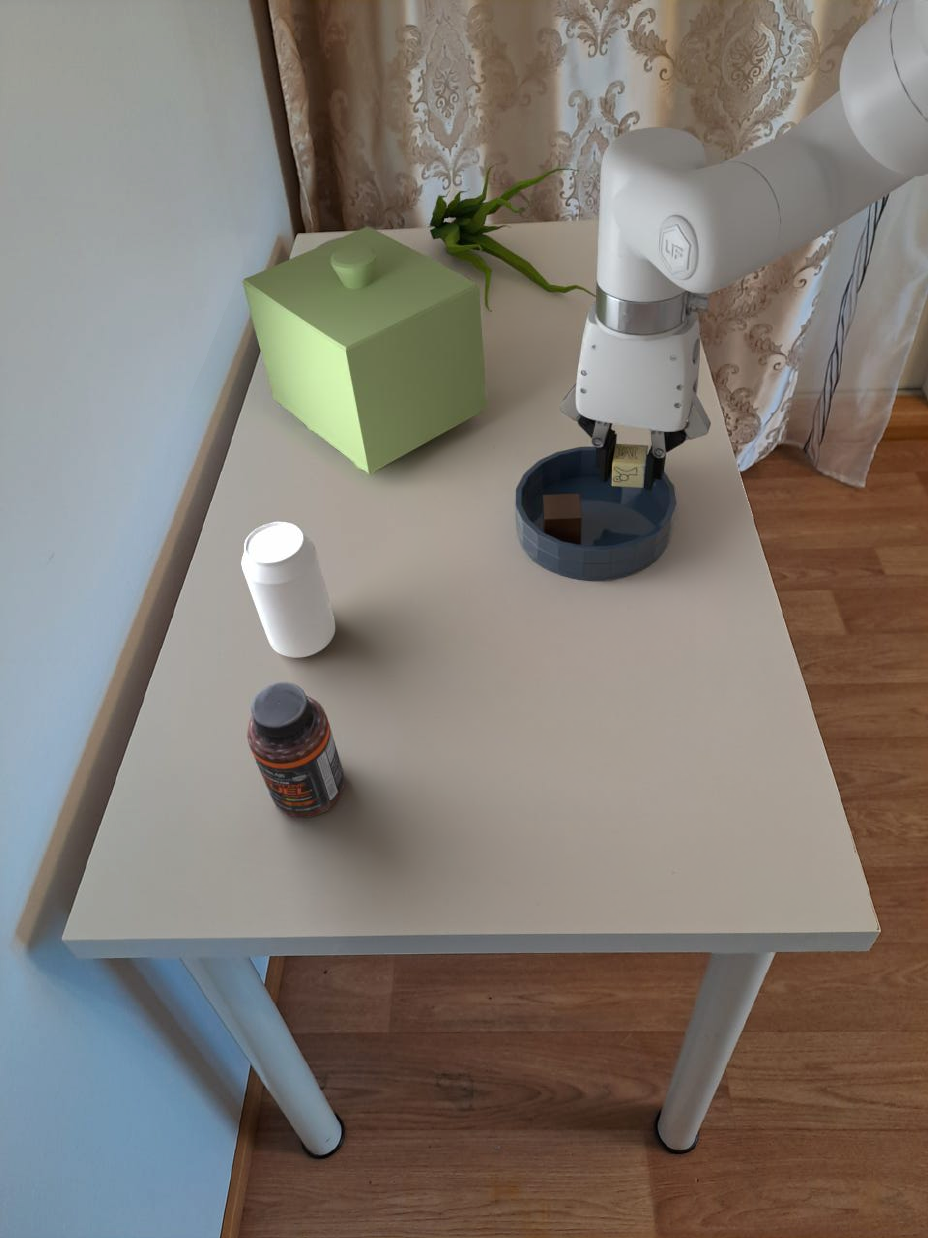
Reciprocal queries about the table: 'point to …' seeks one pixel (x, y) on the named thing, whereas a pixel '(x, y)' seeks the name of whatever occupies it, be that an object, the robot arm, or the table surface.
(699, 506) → the table surface
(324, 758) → the supplement bottle
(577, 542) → the walnut cube
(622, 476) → the alphabet block
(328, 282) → the container
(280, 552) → the beverage can
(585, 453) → the bowl
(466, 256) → the decorative plant
